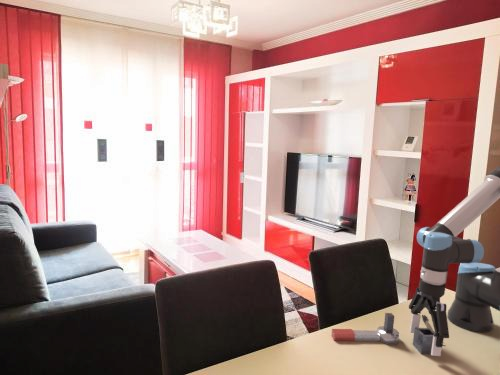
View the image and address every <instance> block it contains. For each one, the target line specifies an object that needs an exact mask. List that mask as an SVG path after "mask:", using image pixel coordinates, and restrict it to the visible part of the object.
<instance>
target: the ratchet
mask: <svg viewBox="0 0 500 375" xmlns="http://www.w3.org/2000/svg"><path fill="white" fill-rule="evenodd" d="M394 324H395V315H394V314H393V313H392V312H385V313H384V322H383V325H382V326H381V325H380V326H378V327H377V330H363V329H362V330H359V329H358V330H357V329H355V330H354V329H351V328H331V335H330V336H331V338H332V340H333V341H336V342H340V341H341V342H356V341H357V342H361V341H362V342H363V341H364V342H381V343H383V344H386V345H397V344H398V343H399V337H400V332H399V331H398V330H397V328H396V329H395V328H394Z"/></svg>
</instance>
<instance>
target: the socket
mask: <svg viewBox="0 0 500 375" xmlns="http://www.w3.org/2000/svg"><path fill="white" fill-rule="evenodd" d="M431 328H432V327H431ZM431 328H427V327H419V328H415V329H414V333H413V339H412V346H414V348H415V349H416V350H417V351H418V353H419V354H420V355H431V350H432V342H433V335H435V330H433V328H432V329H431Z"/></svg>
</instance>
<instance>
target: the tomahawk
mask: <svg viewBox="0 0 500 375" xmlns="http://www.w3.org/2000/svg"><path fill="white" fill-rule="evenodd" d="M421 318H422V322H423V323H424V326H426V327H425V328H431V329H432V330H433V328H432V326H431V324H430V322H429V321H428V316H427V315H425V314H422V315H421ZM442 347H447V346H446V345H445V344H443V346H442Z"/></svg>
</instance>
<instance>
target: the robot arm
mask: <svg viewBox="0 0 500 375" xmlns="http://www.w3.org/2000/svg"><path fill="white" fill-rule="evenodd" d="M499 199H500V165H499V166H497V167H495V168H494V169H493V170H491V171H490V172H489V173H487V174H486V175H485V177H484V178H483V182H482V183H481V184H480V185H479V186H478V187H476V188H475V189H474V190H473V191H472V192H471V193H470V194H469V195H467V196H466V197H465V198H463V200H461V202H459V203H458V204H456V205H455V207H454V208H453V209H451V210H450V211H449V212H448V213H447V214H446V215H445V216H443V217H442V218H441V219H440V220H438V221H437V223H435V224H434V225H433V226H432V227H430V226H425V227H422V228H420V229H419V230H418V231H417V234H416V241H417V243H418V244H419V245H420V246H421V247H422V248H423V252H422V261H421V262H422V263H421V269H420V275H419V276H420V279H419V283H418V286H417V287H416V288H415V293H414V295H413V297H412V298H411V301H410V303H409V304H408V309H409V310H410V313H411V318H410V327H409V333H410V334H414V329H415V328H420V324H421V318H422V315H421V314H422V311H423V310H424V309H425V308H426V310H427V312H428V314H429V315H430V317H431V321H432V326H433V329H434V330H433V331H434V332H435V335H433V342H432V350H431V354H430V355H431V356H432V357H433V356H434V357H441V355H442V349H443V347H444V346H443V345H444V339H449V338H450V333H449V332H450V331H449V323H448V321H450V322H451V323H452V324H453V325H455V326H457V327H459V328H462V329H465V330H468V331H474V332H479V333H486V332H491V331H493V329H494V323H495V322H494V318H493V313H492V309H491V308H493V309H495V310H496V311H499V312H500V267H498V268H496V267H495V266H494V265H492V264H488V263H482V262H481V261H482V260H483V258H484V254H485V251H484V250H485V249H484V246H483V245H482V243H481V242H480V241H478V240H476V239H470V238H467V239H463V238H462V237H458V235H459V234H460V233H462V232H463V231H464V230H465V229H466V228H468V227H469V226H470V225H471V224H472V223H473V222H474V221H476V219H478V218H479V217H480V216H481V215H482V214H483V213H484V212H486V211H487V210H488V209H490V207H492V205H493V204H495V202H497V201H498V200H499ZM450 264H459V266H458V272H457V276H456V285H455V286H456V288H455V294H454V295H455V296H454V299H453V301H452V302H451V306H450V308H449V309H448V311H447V304H446V303H442V302H441V298H442V297H444V295H445V293H446V283H447V280H448V279H447V278H448V271H449V265H450Z"/></svg>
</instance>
